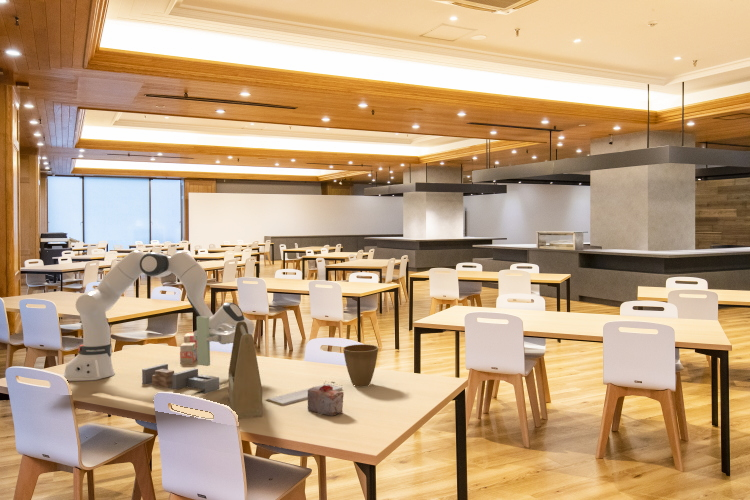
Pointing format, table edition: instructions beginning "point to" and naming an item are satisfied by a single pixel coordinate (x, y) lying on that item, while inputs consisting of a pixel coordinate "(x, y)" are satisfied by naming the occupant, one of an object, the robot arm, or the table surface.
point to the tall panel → (203, 341)
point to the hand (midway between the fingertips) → (201, 338)
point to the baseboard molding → (296, 396)
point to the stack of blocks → (188, 349)
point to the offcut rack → (177, 378)
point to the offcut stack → (163, 378)
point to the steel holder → (204, 383)
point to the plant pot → (360, 363)
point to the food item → (325, 400)
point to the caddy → (244, 375)
